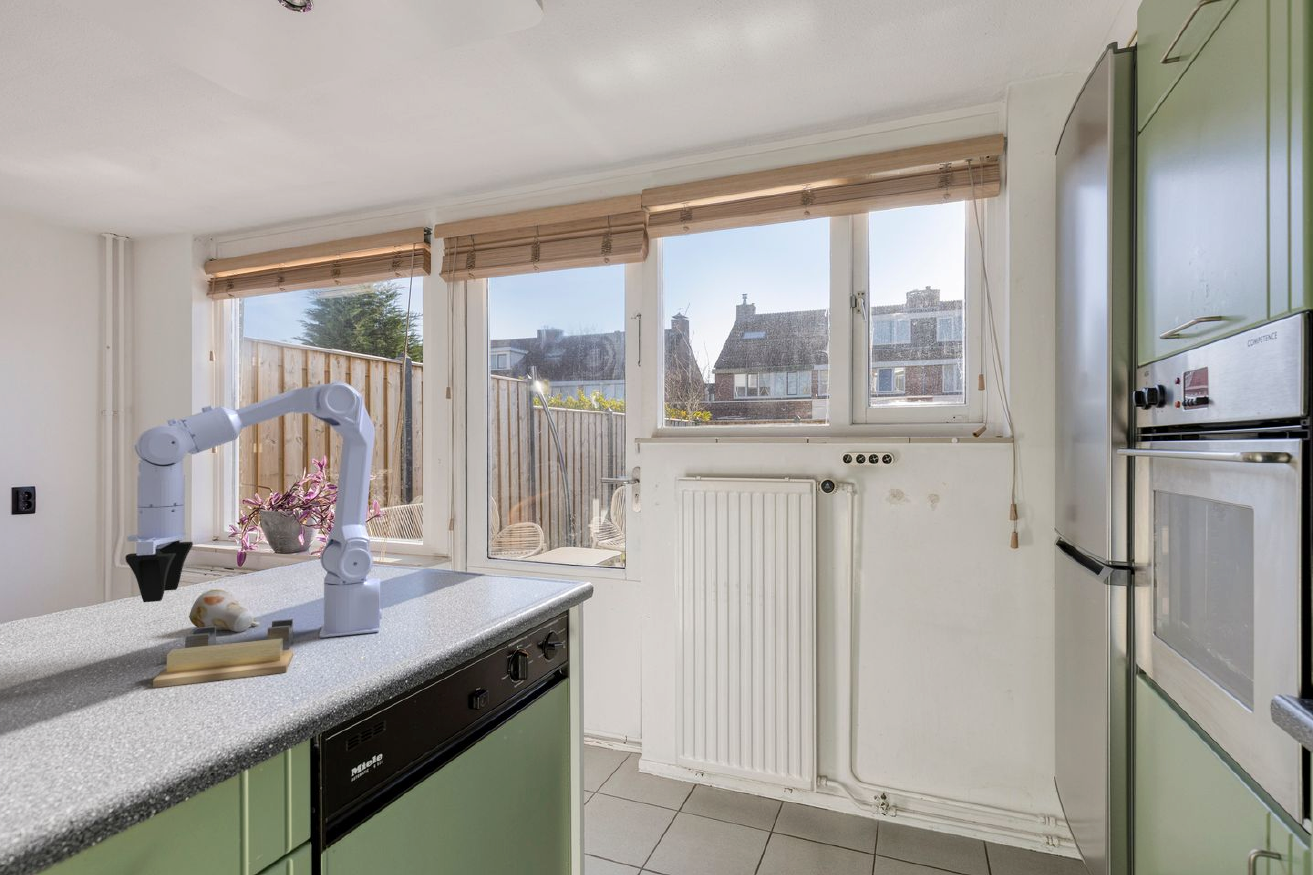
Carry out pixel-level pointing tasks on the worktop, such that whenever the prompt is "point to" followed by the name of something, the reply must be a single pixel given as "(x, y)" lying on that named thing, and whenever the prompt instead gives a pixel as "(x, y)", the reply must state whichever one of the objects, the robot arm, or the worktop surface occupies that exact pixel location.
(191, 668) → the rail
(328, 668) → the worktop surface
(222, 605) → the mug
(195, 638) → the post
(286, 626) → the post
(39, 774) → the worktop surface
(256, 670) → the board
